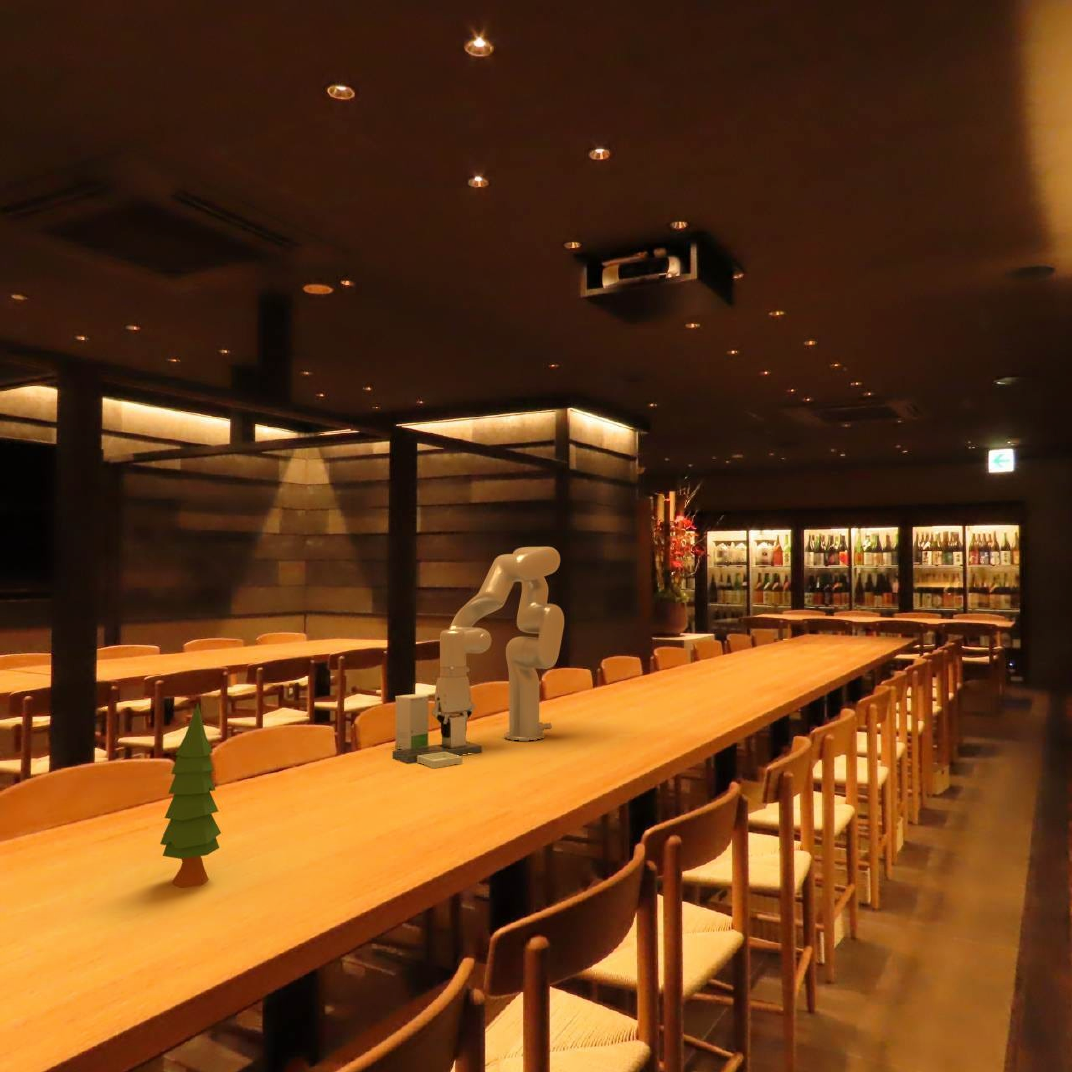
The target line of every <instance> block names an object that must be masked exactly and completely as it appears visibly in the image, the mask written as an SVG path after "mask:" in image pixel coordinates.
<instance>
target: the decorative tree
mask: <svg viewBox="0 0 1072 1072" xmlns="http://www.w3.org/2000/svg"><path fill="white" fill-rule="evenodd" d="M213 753H214V751H213V749H212V747H211V744H210V742H209V740H208V737H207V734H206V731H205V727H204V723H203V718H202V715H201V710H200V706H199V703H197V704H196V706H195V709H194V711H193V715H192V717H191V719H190V722H189V724H188V727H187V729H186V732H185V735H184V737H183V739H182V740H181V743H180V745H179V747H178V748H177V751H176V753H175V756H177V757H176V760H175V762H174V765H173V767H172V770H171V772H170V774H172V775H174V778H173V780H172V782H171V785H170V788H169V790H168V794H170V795H173V797H172V800H171V802H170V804H169V807H168V808H167V811H166V814H165V816H164V819H170V820H169V822H168V825H166V829H165V831H164V833H163V835H162V838H161V841H160V843H159V844H160V845H162V846H165V848H164V851H163V853H162V856H163V857H168V858H172V859H178V860H181V866H180V868H179V869H178V872H177V873H176V875H175V876H174V877H173V879H172V880H171V882H172V885H175V886H177V887H178V888H186V887H194V886H199V885H200V886H201V885H205V883H207V882H208V881H209V877H208V875H207V872H206V869H205V866H204V862H203V858H202V857H204V856H208V855H209V854H211V853H213V852H215V851H217V850H219V849H220V846H219V845H220V844H219V841H218V839H217V837H218V836H219V835H221V834H222V831H221V830H220V828H219V826H218V824H217V822H216V820H215V818H214V817H213V815H212V814H215V813H218V812H219V810H218V807H217V805H216V802H215V800H214V797H213V795H212V793H211V792H215V791H216V786H215V783H214V781H213V777H212V773H213V772H214V771H215V769H214V768H215V767H214V765H213V762H212V758H211V756H210V755H211V754H213Z"/></svg>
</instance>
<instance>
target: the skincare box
mask: <svg viewBox="0 0 1072 1072" xmlns="http://www.w3.org/2000/svg"><path fill="white" fill-rule="evenodd" d="M429 696H430V695H427V694H415V693H412V694H402V695H395V696H394V697H395V735H394V737H395V738H394V739H395V744H394V745H395V750H398V749H401V750H402V749H410V748H417V747H424V746H429V709H430V707H429V699H430V698H429Z"/></svg>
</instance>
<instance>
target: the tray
mask: <svg viewBox="0 0 1072 1072" xmlns="http://www.w3.org/2000/svg"><path fill="white" fill-rule="evenodd" d="M416 763H417V764H419V763H421V764H420V765H422V764H424V765H423V766H425V765H426V766H425V767H427V768H431V769H439V767H440V768H445V767H444V766H446V767H450V766H449V765H453V766H455V765H454V764H459V765H461V764H460V763H462V764H463V756H457V755H454V754H451V753H448V752H439V753H432V754H425V755H418V756H417V762H416Z"/></svg>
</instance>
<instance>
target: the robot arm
mask: <svg viewBox="0 0 1072 1072" xmlns="http://www.w3.org/2000/svg"><path fill="white" fill-rule="evenodd" d="M560 563H561V555H560V553H559V552H558V550H557V549H555V548H554V547H551V546H524V547H523V546H522V547H519V548H516V549H515V550H514V551H513V553H506V554H501V555H498V556H497V557H495V558H494V560H493V563H492V564H491V566H490V568H489V570H488V573H487V575H486V577H485V579H484V580H483V584H482V585H481V587H480V589H479V591H478V593H477V594H476V595H475V596H474V597H472V598H471V599H470V600H469V601H467V602H466V604H464V605H463V607H461V608H460V609H459V610H458V611H457V613H456V614H455V616H454V618H453V620H452V622H451V624H450V625H449V627H448V629H444V630H442V631H441V632H440V634H439V658H440V659H439V661H440V662H439V665H440V666H439V668H440V671H439V673H440V674H439V676H440V677H437V679H436V685H435V692H434V706H433V707H432V709H431V710H430V714H431V716H432V717H434V718H435V719H437V721H438V723H439V724H440V734H441V738H442V737H445V738H449V724H447V722H448V717H449V715H450V714H456V713H458V714H459V715H463V716H466V732H467V729H468V728H467V722H468V721H469V718H470V717H471V715H472V713H474V712H475V711H476V710H477V707H476V705H475V704H474V702H473V701H472V692H471V685H470V680H469V679H470V678H469V676H467V673H469V672H470V667H468V666H467V654H482V653H485V652H486V651H487V650H489V648H490V647H491V645H492V636H491V633H490V632H489V631H488V630H486V629H485V628H480V627H473V626H474V625H475V624H476V622H478V621H479V620H480V619H482V618H484V617H485V616H487V615H489V614H491V613H492V614H493V613H495V611H498V610H500V609H501V608H502V607H504V605H505V603H506V601H507V599H508V596H509V594H510V593H511V590H512V589H513V586H514V583H516V582H520V583H521V593H520V594H521V596H520V600H519V607H518V611H517V615H516V616H517V617H516V627H518V628H517V629H518V630H519V631H521V632H523V633H528V634H538V637H534V636H516V637H513V638H512V639H510V640H509V641H508V643H507V644H506V647H505V659H506V662H507V664H506V665H507V669H508V732H505V733H504V734H503V736H504V737H505V738H507V739H506V740H508V739H511V740H510V741H514V740H519V741H518V742H530V741H529V740H534V741H538V740H537V739H540V740H542V739H541V738H543V737H544V738H545V733H544V732H543V731H545V730H552V728H553V725H552V723H550V722H546V723H543V722H541V721H540V679H539V675H538V672H537V669H541V670H548V669H551V668H553V667H554V666H555V665H556V663H557V662H558V661H557V660H558V658H559V654H560V650H561V645H562V640H563V639H562V638H563V633H564V629H565V616H564V612H563V610H562V608H561V607H560V606H559V605H557V604H555V603H554V604H553V603H548V597H549V585H548V583H547V581H546V578H545V577H546V576H549V575H552V574H554V573H555V572H556V571H558V568H559V567H560ZM504 737H503V738H504ZM505 738H504V739H505ZM544 738H543V739H544Z"/></svg>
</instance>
